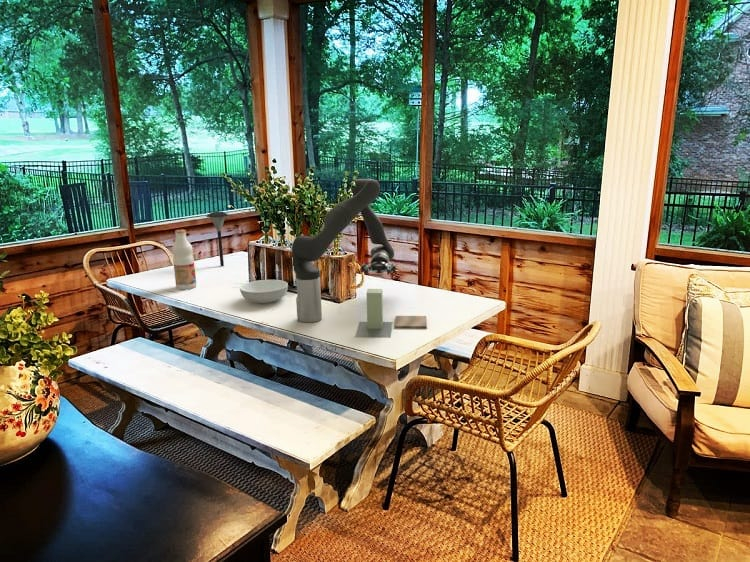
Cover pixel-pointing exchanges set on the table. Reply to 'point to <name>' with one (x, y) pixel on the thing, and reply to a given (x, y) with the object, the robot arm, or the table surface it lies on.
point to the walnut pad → (411, 322)
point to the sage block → (374, 309)
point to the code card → (374, 331)
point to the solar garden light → (218, 229)
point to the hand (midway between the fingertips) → (377, 272)
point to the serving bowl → (264, 290)
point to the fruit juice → (183, 262)
